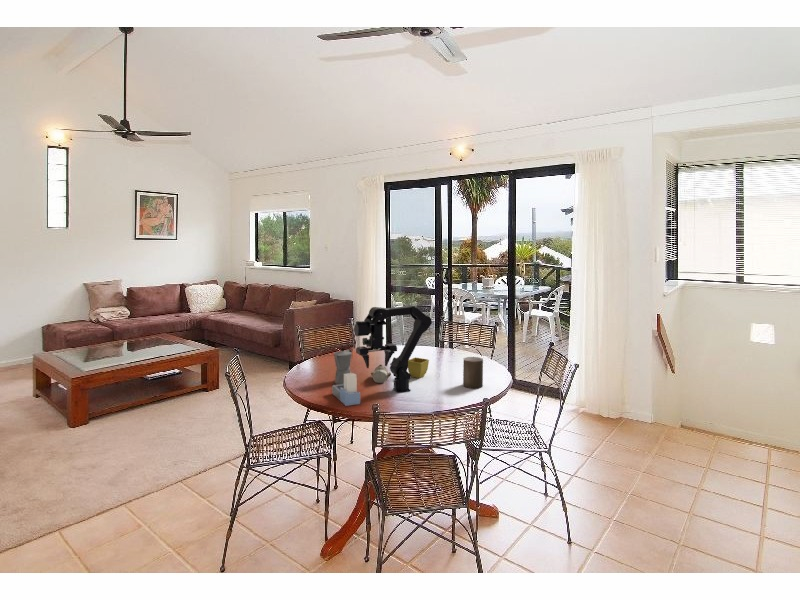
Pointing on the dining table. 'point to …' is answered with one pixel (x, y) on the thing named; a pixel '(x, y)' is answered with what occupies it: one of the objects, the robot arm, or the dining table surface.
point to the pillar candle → (473, 372)
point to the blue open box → (337, 390)
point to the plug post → (350, 382)
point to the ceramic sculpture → (380, 374)
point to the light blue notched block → (349, 397)
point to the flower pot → (418, 367)
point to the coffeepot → (342, 364)
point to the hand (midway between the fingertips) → (376, 367)
